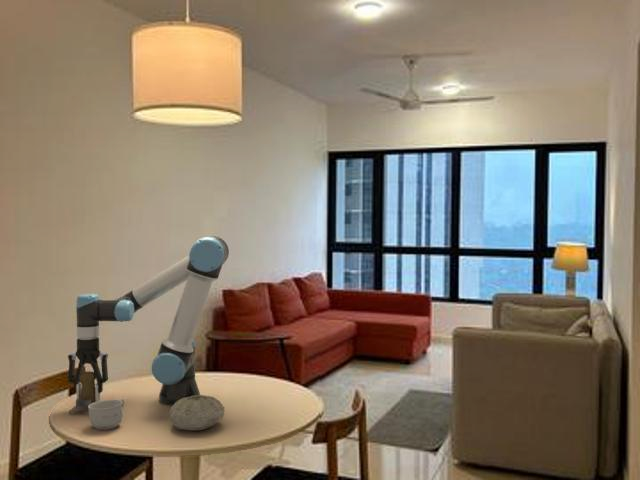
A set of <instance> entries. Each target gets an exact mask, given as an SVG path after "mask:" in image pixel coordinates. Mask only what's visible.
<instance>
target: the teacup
mask: <svg viewBox="0 0 640 480" xmlns="http://www.w3.org/2000/svg"><path fill="white" fill-rule="evenodd" d="M124 407H125V401H124V399H123V398H117V399H103V400H100V401H98V402H94V403H92V404H90V405H89V406H88V408H89V414H88V417H89V419H88V420H89V423H90V424H89V425H91V426H92V427H93V428H94V429H96V430H99V431H108V430H111V429H114V428H116V427H118V426H119V424H120V423H121V422H122V421H123V416H124V415H123V414H124V413H123V410H124V409H123V408H124Z"/></svg>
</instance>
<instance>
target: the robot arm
mask: <svg viewBox="0 0 640 480" xmlns="http://www.w3.org/2000/svg"><path fill="white" fill-rule="evenodd" d="M229 254H230V253H229V246H228V244H227V242H226V241H225V240H224V239H222V238H221V237H220V236H212V235H211V236H205V237H201V238H199V239H198V240H196V241H195V242H193V244H192V246H191V247H190V250H189V253H188V255H187V256H185V257H184V258H182V259H180V260H179V261H177V262H176V263H174V264H172V265H171V266H169V267H168V268H166V269H165V270H162V271H161V272H160V273H158V274H156V275H155V276H153V277H152V278H150V279H148V280H147V281H145V282H143V283H142V284H140V285H138V286H137V287H135V288H134V289H132V290H131V291H129V292H127V293H126V294H124V295H123V296H120V297H118V298H116V299H111V300H110V299H109V300H108V299H107V300H106V299H105V300H104V299H100V297H99V294H97V293H85V294H79V295H77V298H76V307H75V309H76V338H77V339H76V351H75V353H70V354H68V355H67V359H68V363H69V364H68V378H67V382H68V383H71V384H73V392H74V393H75V394H76V399H80V396H81V388H82V382H80V381H81V374H82V373H83V370H84V368H85V367H84V366H85V365H86V364H88V365H90V366H91V367H92V372H94V374H95V377H96V379H95V380H96V382H97V383H95V402H98V401H101V394H102V392H103V390H104V388H103V387H104V383H106V382H107V381H108V380H109V375H108V371H109V370H108V361H107V360H108V356H109V354H108V353H102V352H101V350H100V337H99V336H100V322H120V323H123V322H130V321H132V319H133V317H134V315H135V313H136V312H138V311H139V310H141V309H142V308H144V307H145V306H147V305H149V304H150V303H153V301H155V300H156V299H158V298H160V297H162V296H163V295H165V294H166V293H168V292H170V291H172V290H174V289H175V288H176V287H179V286H180V285H181V284H183V283H184V282H186V283H185V285H184V288H183V291H182V295H181V297H180V301H179V303H178V306H177V309H176V312H175V316H174V318H173V321H172V324H171V326H170V330H169V333H168V336H167V338H165V339H163V340H162V341H161V344H160V346H159V349H158V352H157V355H156V356H155V358H154V359H153V360H152V364H151V372H152V375H153V377H154V378H155V380H156V381H157V382H159V383H161V388H160V391H159V395H158V401H159V403H160V404H163V405H166V406H167V405H168V406H169V405H170V406H173V405H174V404H175V403H176V402H177V401H178V400H180V399H182V398H186V397H190V396H193V395H194V396H195V395H201V393H200V389H199V387H198V383H197V380H196V343H195V341H194V338H195V334H196V331H197V328H198V326H199V322H200V321H201V320H200V319H201V316H202V314H203V311H204V308H205V305H206V301H207V298H208V296H209V293H210V290H211V287H212V284H213V282H214V281H217V280H218V279H219V276H220V274H221V273H220V272H221V271H222V267H223V266H224V264H225V262H226V261H227V260H228V258H229ZM76 358H77V359H78V360H79V361H78V366H77V369H76ZM98 358H99V359H100V361H101V362H100V363H101V364H100V367H101V370H100V368H99V362H98ZM75 369H76V371H75Z"/></svg>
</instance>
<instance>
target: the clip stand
mask: <svg viewBox="0 0 640 480" xmlns="http://www.w3.org/2000/svg"><path fill="white" fill-rule="evenodd" d="M90 404H91V399H77V398H76V399H75V406H73V407H72V408H71V409H70V410H69V411H68V415H89V408H88V406H89V405H90Z"/></svg>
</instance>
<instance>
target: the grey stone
mask: <svg viewBox="0 0 640 480" xmlns="http://www.w3.org/2000/svg"><path fill="white" fill-rule="evenodd" d="M170 406H171V407H170V408H171V409H170V412H169V418H170V420H171V421H170V422H171V423H172V424H173V425H174V426H175V427H176V428H177V429H179V430H184V431H193V432H195V431H201V430H202V431H203V430H207V429H209V428H211V427H213V426H215V425H217V424H218V423H219V422H220V421H221V420H222V419H223V417H224V415H225V406H224V405H223V404H222V402H221V401H220V400H218V399H217V398H216V397H214V396H210V395H201V394H200V395H195V396H194V395H193V396H190V397H186V398H182V399H180V400H178V401H177V402H176V403H175V404H174V405H170Z"/></svg>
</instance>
